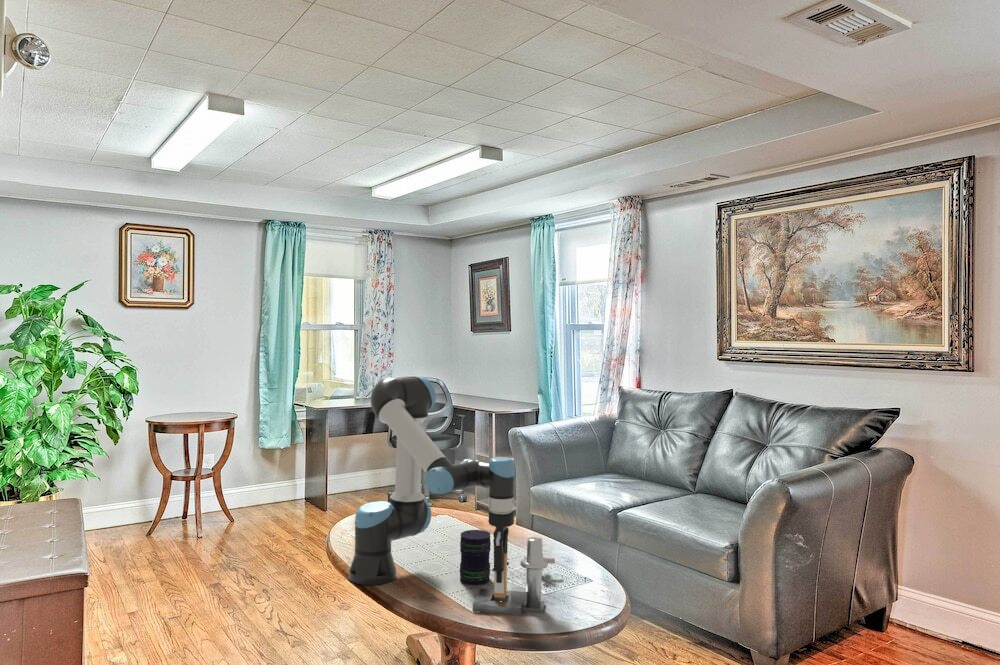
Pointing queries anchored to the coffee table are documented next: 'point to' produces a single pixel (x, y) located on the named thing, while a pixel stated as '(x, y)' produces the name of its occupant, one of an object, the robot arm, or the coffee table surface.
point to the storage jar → (475, 557)
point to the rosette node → (518, 597)
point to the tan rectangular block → (504, 579)
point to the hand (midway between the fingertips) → (500, 590)
